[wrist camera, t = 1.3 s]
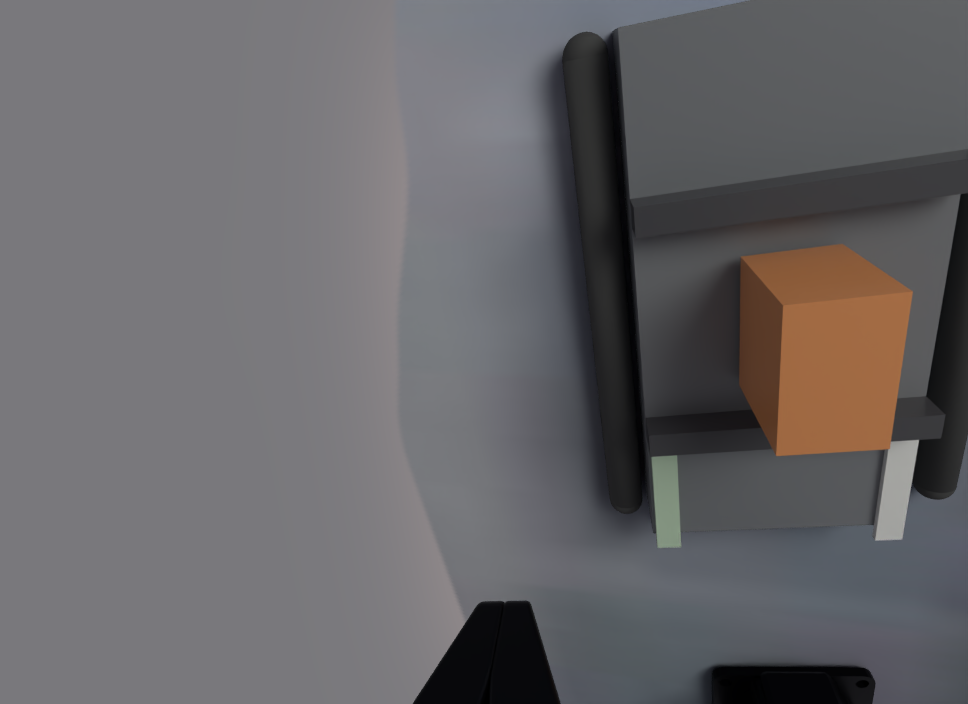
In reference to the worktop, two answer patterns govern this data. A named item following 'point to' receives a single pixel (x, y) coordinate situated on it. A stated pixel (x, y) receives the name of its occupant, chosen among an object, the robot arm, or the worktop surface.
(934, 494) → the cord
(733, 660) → the worktop surface
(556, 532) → the worktop surface
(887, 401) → the orange block
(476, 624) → the robot arm
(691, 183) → the panel
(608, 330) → the dark grey rod
